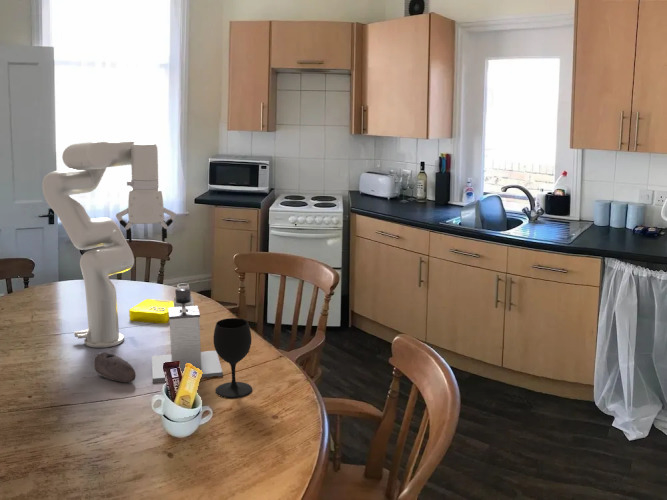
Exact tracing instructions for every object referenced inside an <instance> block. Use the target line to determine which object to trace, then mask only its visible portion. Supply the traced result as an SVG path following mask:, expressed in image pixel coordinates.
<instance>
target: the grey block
mask: <svg viewBox="0 0 667 500" xmlns="http://www.w3.org/2000/svg"><path fill="white" fill-rule="evenodd" d="M168 312H169V321H170V322H169V335H170V337H169V338H170V339H169V340H170V354H171V361H172V362H173V361H180V368H181V370H183V369H184V368H185V364H186V363H191V364H192V365H193V366H195V367H196V368H201V352H202V351H201V326H200V318H201V314H200V313H201V312H200V309H199V305H193V306H186V312H182V307H170V308H168Z"/></svg>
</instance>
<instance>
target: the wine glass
mask: <svg viewBox="0 0 667 500" xmlns="http://www.w3.org/2000/svg"><path fill="white" fill-rule="evenodd" d="M251 332H252V331H251V328H250V325H249V322H248V321H247V320H246V319H243V318H237V317H230V318H223V319H220V320H218V321H216V323H215V327H214V331H213V346H214V351H216V352H217V354H218V357H220V358H221V359H222V360H223V361H225V363H228V364H229V365H230V370H231V381H230V382H225V383H221V384H220V385H218V386H217V387H216V388H215V394H216V393H217V394H218V395H220V396H219V397H221V396H222V397H221V398H224V397H226V398H225V399H239V398H238V397H240V398H244V397H247V396H248V395H250V394H251V393H252V392H253V387H252V385H251V384H249V383H247V382H242V381H237V380H236V366H237V364H238V363H239V362H241V361H242V360H243V359H245V358H246V356H247V355H248V354H249V352H250V350H251V346H252V333H251ZM217 394H216V395H217ZM218 395H217V396H218ZM246 395H247V396H246ZM243 396H244V397H243Z"/></svg>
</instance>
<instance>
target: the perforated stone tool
mask: <svg viewBox="0 0 667 500" xmlns="http://www.w3.org/2000/svg"><path fill="white" fill-rule="evenodd" d="M94 370H95V372H96V373H97V374H98V375H100V376H102V377H104V378H105V379H109V380H111V381H112V380H113V381H117V382H121V383H127V384H128V383H133V382H134V381H135V379H136V376H137V374H136V371H135V369H134V367H133V366H132V365H131V364H130V362H128V361H127V360H125V359H123V358H122V357H120V356H118V355H116V354H114V353H113V354H112V353H109V352H106V351H105V352H100V353H98V354H96V355H95V356H94Z"/></svg>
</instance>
